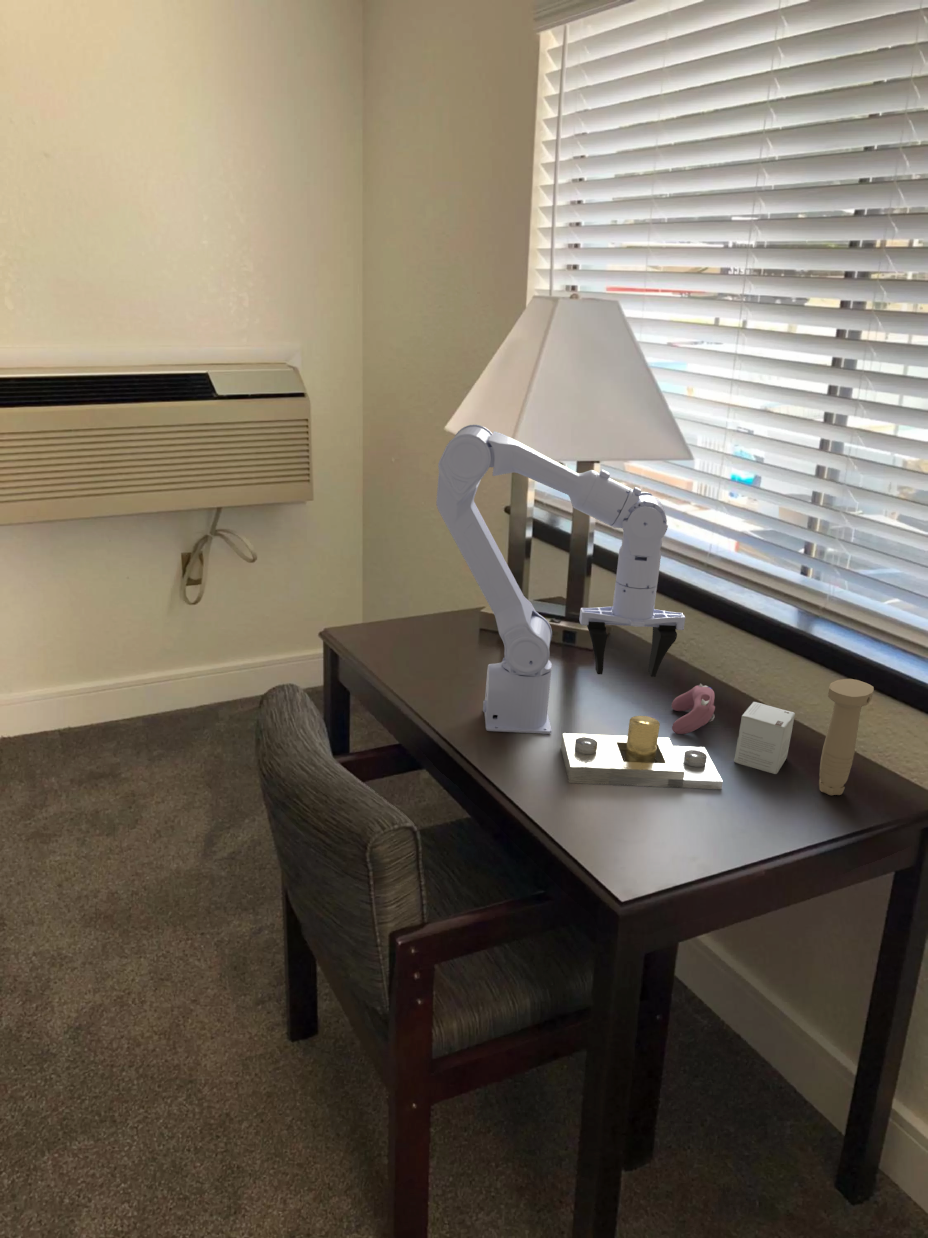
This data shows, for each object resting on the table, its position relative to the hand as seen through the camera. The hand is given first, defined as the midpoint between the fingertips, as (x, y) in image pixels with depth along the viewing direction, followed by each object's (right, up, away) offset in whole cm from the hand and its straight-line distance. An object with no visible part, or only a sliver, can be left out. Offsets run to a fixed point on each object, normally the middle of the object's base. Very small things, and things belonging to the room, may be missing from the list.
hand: (625, 673), depth 142 cm
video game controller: (+11, -8, +8) cm, 16 cm away
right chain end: (+3, -13, -7) cm, 15 cm away
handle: (+26, -15, -10) cm, 32 cm away
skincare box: (+18, -12, -3) cm, 22 cm away
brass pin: (+1, -13, -7) cm, 15 cm away
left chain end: (-2, -12, -7) cm, 15 cm away
